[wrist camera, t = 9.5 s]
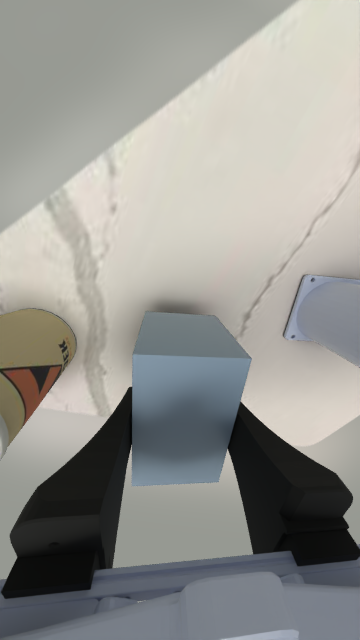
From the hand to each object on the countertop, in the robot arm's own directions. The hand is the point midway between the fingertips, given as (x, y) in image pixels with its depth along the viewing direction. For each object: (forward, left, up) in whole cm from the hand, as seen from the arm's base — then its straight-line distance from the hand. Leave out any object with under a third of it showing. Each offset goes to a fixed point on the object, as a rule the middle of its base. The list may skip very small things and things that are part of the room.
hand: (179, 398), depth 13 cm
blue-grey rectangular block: (0, 0, -4) cm, 4 cm away
